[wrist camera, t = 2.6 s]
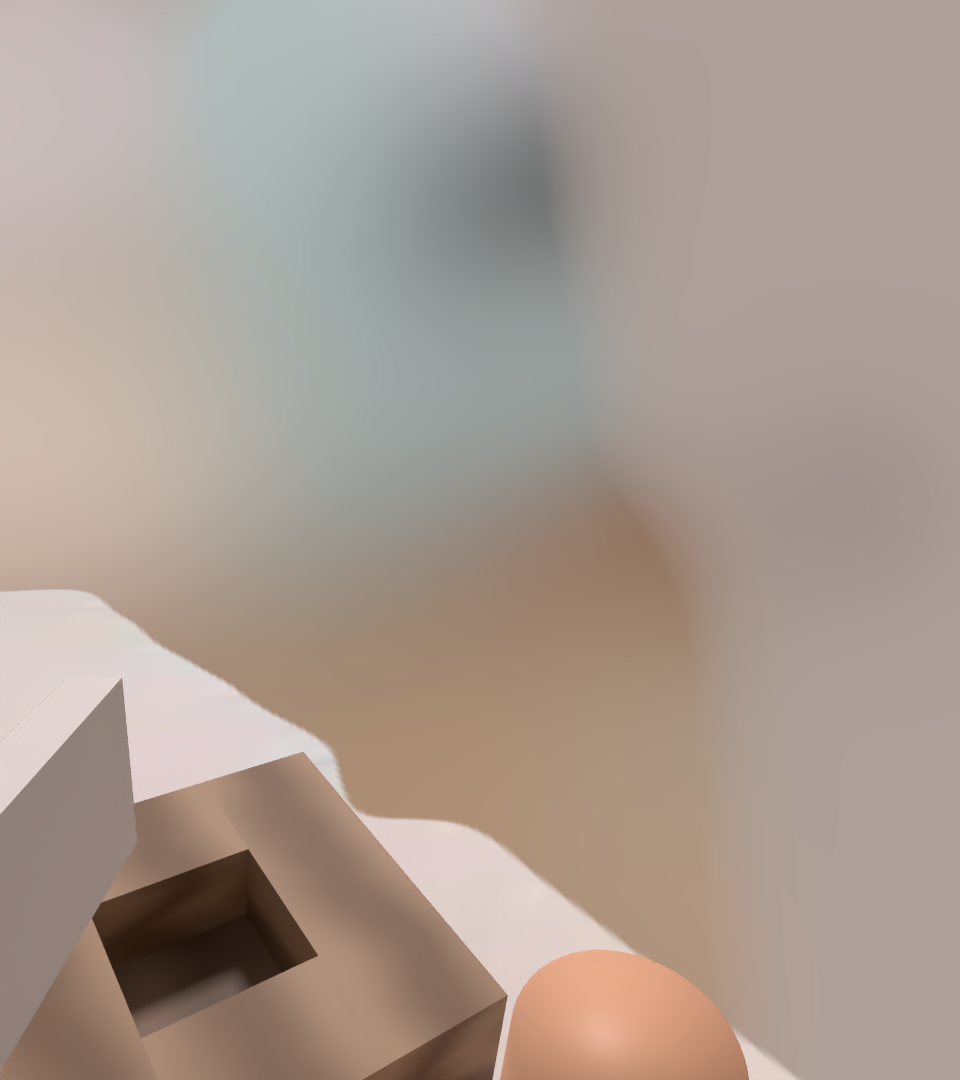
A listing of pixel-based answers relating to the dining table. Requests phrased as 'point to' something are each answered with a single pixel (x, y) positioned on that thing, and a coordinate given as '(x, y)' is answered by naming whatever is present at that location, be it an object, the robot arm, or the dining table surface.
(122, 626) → the dining table surface
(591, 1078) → the peg
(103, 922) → the socket block
